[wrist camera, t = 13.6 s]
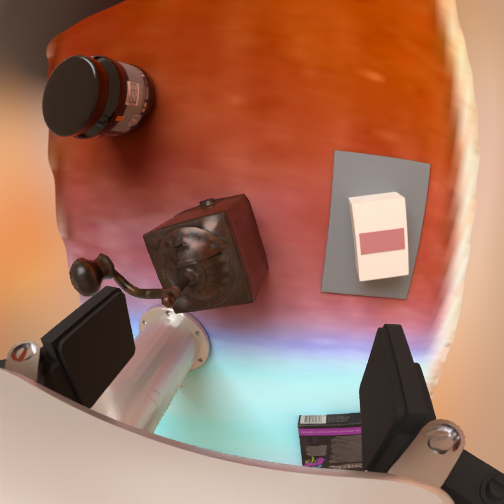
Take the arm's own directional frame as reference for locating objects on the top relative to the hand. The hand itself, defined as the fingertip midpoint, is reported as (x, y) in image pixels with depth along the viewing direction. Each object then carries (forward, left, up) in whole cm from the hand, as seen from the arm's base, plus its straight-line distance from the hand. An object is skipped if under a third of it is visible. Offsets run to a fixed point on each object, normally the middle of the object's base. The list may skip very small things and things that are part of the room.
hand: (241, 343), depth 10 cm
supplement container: (+13, +24, -28) cm, 39 cm away
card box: (-3, -10, -28) cm, 30 cm away
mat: (-3, -10, -28) cm, 30 cm away
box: (-46, -13, -29) cm, 56 cm away
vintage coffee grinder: (-7, +12, -29) cm, 32 cm away
